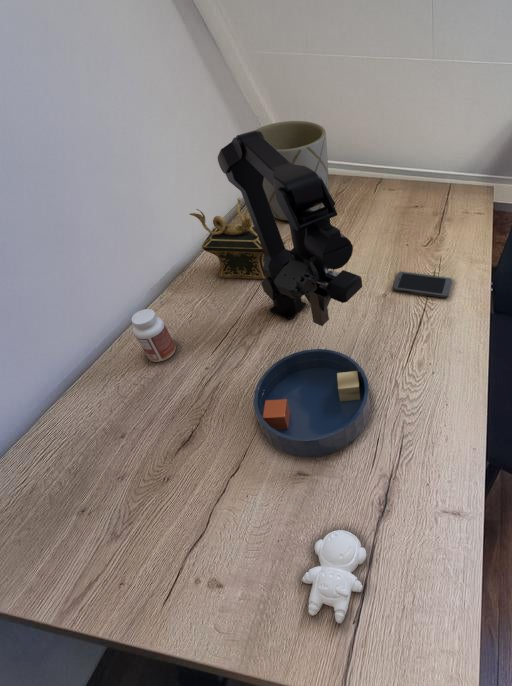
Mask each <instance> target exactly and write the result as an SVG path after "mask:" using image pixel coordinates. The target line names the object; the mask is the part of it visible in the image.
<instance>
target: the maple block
mask: <svg viewBox="0 0 512 686" xmlns="http://www.w3.org/2000/svg"><path fill="white" fill-rule="evenodd" d="M337 380H338V392H339V398H340V402H342V401H351V400H360V391H359V381H358V372H357V371H352V372H343V373H337Z"/></svg>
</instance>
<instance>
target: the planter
mask: <svg viewBox="0 0 512 686" xmlns="http://www.w3.org/2000/svg"><path fill="white" fill-rule="evenodd" d="M254 130H255V131H260V132H261V133H262V135H263V136H264V139H265V140H266V141H267V142H268V143H269V144H270V145H271V146H273V147H274V148H275V149H276V150H277V151H278V152H279V153H280V154H281V155H282V156H284V157H285V158H286V159H287V160H288V161H289V162H290V163H292V164H294V165H302V166H306V167H308V168H309V169H311V170H313V171H314V172H316V173H317V174H318V176H320V177H321V178H322V180H323V182H324V183H325V185H326V187H327V189H328V191H329V192H330V181H329V179H330V178H329V161H328V145H327V142H328V141H327V133H326V129H325V128H324V127H323V125H320V124H318V123H315V122H311V121H305V120H304V121H303V120H288V121H287V120H286V121H278V122H274V123H270V124H266V125H263V126H260V127H258V128H257V129H254ZM263 188H264V190H265V193H266V196H267V199H268V202H269V204H270V207H271V210H272V213H273V215H274V218H275V219H277V220H281V221H286V222H289V221H288V219H287V217H286V216H285V214H284V212H283V211H282V209H281V207H280V206H279V204H278V202H277V200H276V194H275V188H274V187H273V185H272V184H271V183H270V182H269V181H268V180H267V179H266V178H265V177H264V180H263ZM323 207H325V206H324V205H323V203H322V204H320V205H318V206H315V207H312V208H311V209H313V210H314V211H315V210H318V209H320V208H323Z"/></svg>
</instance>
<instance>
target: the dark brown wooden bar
mask: <svg viewBox="0 0 512 686" xmlns="http://www.w3.org/2000/svg"><path fill="white" fill-rule="evenodd" d="M319 287H320V283H317V282H316V283H315V288H314V289H313V290H312V292H311V293H310V295H309V298H310V303H309V304H310V310H311V311H310V312H311V316H312V317H311V318H312V322H313V323H314V324H316V325H318V326H320V327H323V326H325V325H326V323H328V321H330V317H329V309H328V308H329V306H328V307H327V309H326V310H325V311H322V308H321V305H320V300H319V295H317V294H315V293H313V292H314V291H315V290H316V289H317V288H319Z"/></svg>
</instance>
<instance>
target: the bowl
mask: <svg viewBox="0 0 512 686" xmlns="http://www.w3.org/2000/svg"><path fill="white" fill-rule="evenodd" d="M352 371H357V372H358V381H359V391H360V400H351V401H342V402H340V398H339V392H338V380H337V373H343V372H352ZM369 387H370V386H369V380H368V377H367V375H366V373H365V371H364V369H363V368H362V367H361V366H360V364H359V363H358V362H357V361H355V360H354V359H353V358H351V356H349V355H347V354H344V353H342V352H340V351H335V350H332V349H326V348H323V349H322V348H311V349H304V350H300V351H297V352H293V353H290V354H289V355H286V356H285V357H282V358H280V359H279V360H277V361H276V362H274V363H273V364H271V366H270V367H268V369H267V370H266V371H264V373H263V375H262V376H261V377H260V378H259V380H258V381H257V385H256V387H255V390H254V393H253V407H254V414H255V416H256V418H257V421H258V424H259V427H260V429H261V431H262V433H263V435H264V437H265V438H266V440H267V442H269V443H270V444H271V446H273V447H274V448H275V449H277V450H279V451H280V452H281V453H284V454H287V455H289V456H293V457H297V458H306V459H307V458H308V459H309V458H319V457H324V456H328V455H331V454H333V453H336V452H339V451H340V450H342V449H344V448H345V447H347V446H349V445H350V444H352V443H353V441H355V440H356V438H357V437H358V436H359V435H360V434H361V433H362V431H363V429H364V428H365V426H366V425H367V423H368V421H369V420H368V419H369V416H370V411H371V410H370V409H371V401H370V399H371V398H370V388H369ZM281 399H287V403H288V406H289V410H290V416H289V425H288V429H284V430H275V429H273V428H272V427H270V426H269V425H268V424H267V423H266V422H265V420H264V419H263V412H264V406H265V401H266V400H281Z"/></svg>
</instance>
